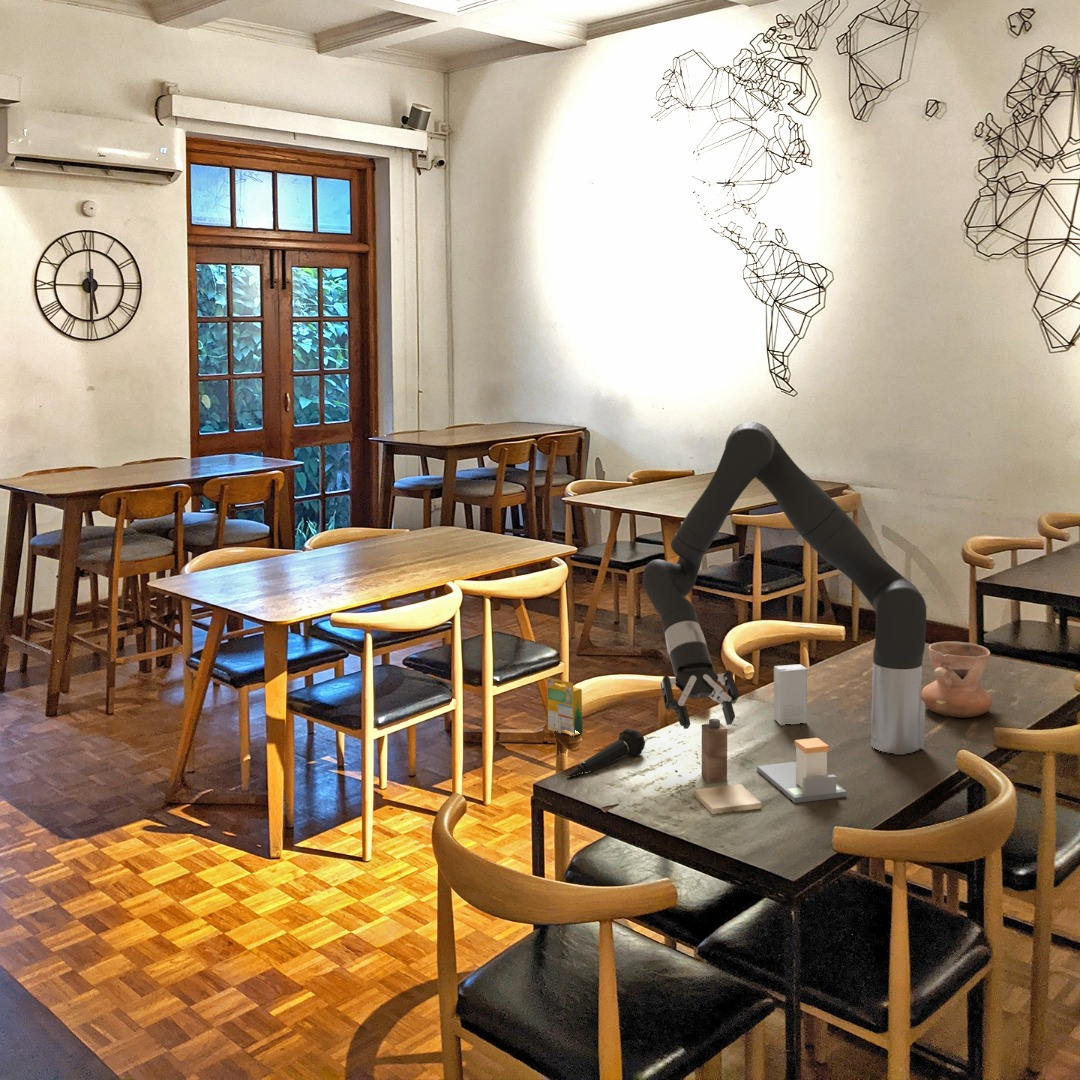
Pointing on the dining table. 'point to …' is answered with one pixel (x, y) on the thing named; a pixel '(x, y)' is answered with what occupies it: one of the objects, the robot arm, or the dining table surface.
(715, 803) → the coaster
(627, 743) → the microphone
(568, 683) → the food box
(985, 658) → the ceramic jug
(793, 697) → the skincare box
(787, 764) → the panel
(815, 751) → the orange-capped white pillar
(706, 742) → the pepper mill
